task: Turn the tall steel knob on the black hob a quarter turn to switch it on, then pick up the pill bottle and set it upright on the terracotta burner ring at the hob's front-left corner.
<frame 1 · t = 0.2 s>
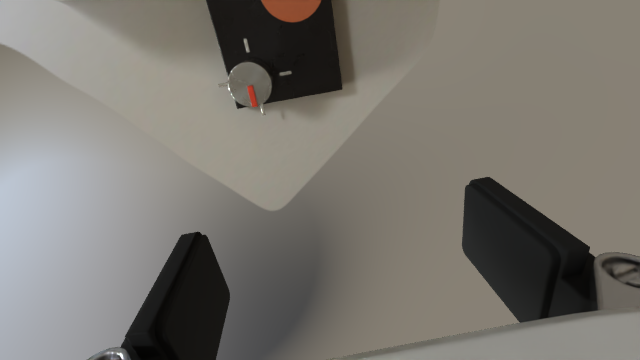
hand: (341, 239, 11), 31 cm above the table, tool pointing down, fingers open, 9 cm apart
hob: (275, 26, 35), on the table
hob knob: (252, 82, 33), point 5 cm above the table, hinge at 0.0°
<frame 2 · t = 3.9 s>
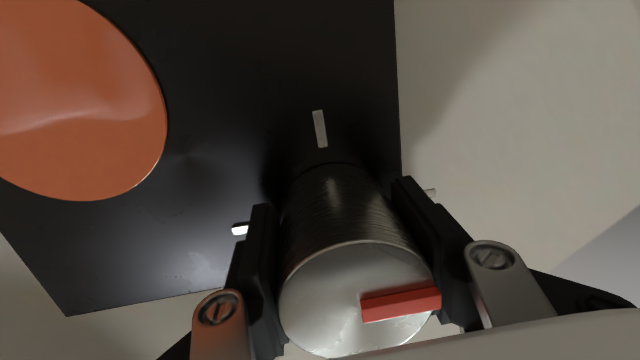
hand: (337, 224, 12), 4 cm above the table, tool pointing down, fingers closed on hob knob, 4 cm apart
hob: (204, 135, 13), on the table
hob knob: (344, 251, 10), point 5 cm above the table, hinge at 0.0°, touching gripper
burner ring: (55, 105, 10), resting on hob
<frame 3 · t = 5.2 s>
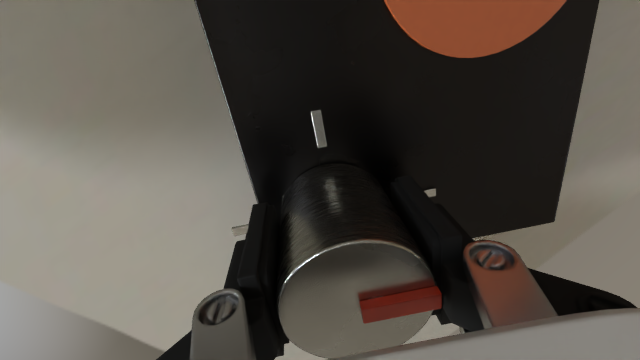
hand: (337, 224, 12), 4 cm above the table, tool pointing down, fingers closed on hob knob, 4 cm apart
hob: (389, 64, 13), on the table
hob knob: (344, 251, 10), point 5 cm above the table, hinge at 89.9°, touching gripper
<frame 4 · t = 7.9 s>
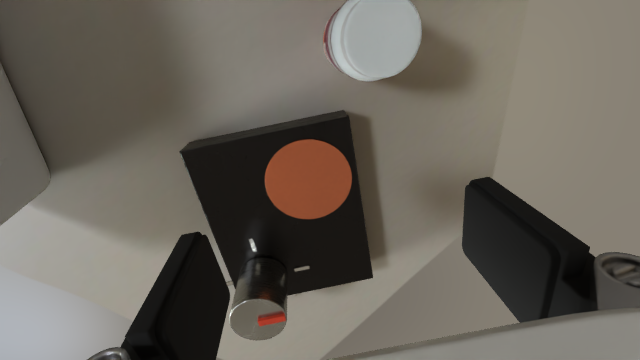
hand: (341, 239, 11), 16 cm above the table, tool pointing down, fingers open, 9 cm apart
hob: (288, 208, 28), on the table
hob knob: (261, 297, 25), point 5 cm above the table, hinge at 89.4°
burner ring: (308, 180, 24), resting on hob
pill bottle: (352, 40, 23), on the table
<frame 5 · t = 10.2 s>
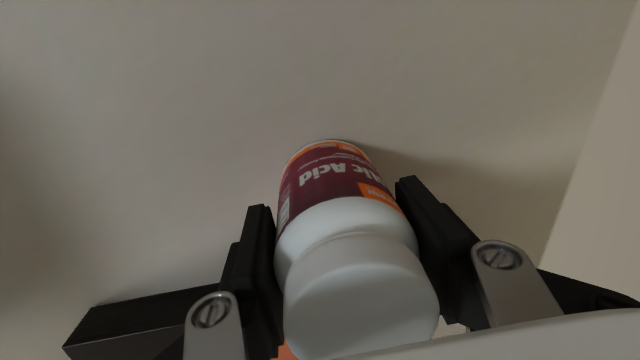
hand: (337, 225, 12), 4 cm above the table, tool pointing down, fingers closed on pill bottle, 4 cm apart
pill bottle: (326, 180, 15), on the table, touching gripper
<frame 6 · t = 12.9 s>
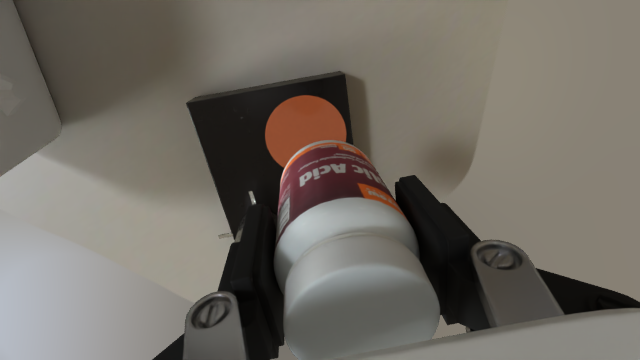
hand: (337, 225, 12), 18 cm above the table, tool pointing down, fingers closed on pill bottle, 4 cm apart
hob: (286, 166, 30), on the table
hob knob: (259, 245, 27), point 5 cm above the table, hinge at 89.4°
burner ring: (306, 136, 26), resting on hob
pill bottle: (326, 181, 15), point 14 cm above the table, touching gripper
when the fingers open (6 cm above the table, at t = 15.9 s): pill bottle stays where it is, resting on burner ring.
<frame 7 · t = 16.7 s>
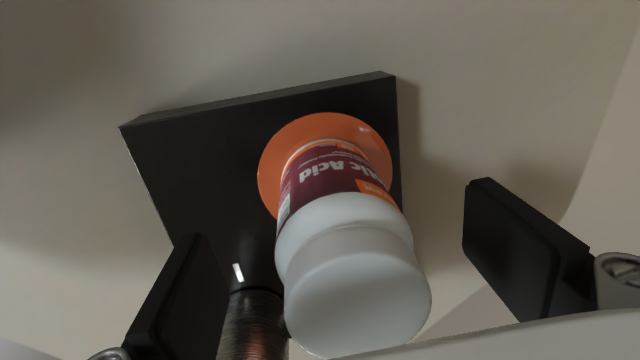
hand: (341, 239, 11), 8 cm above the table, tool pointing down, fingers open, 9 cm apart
hob: (292, 217, 19), on the table
hob knob: (249, 352, 17), point 5 cm above the table, hinge at 89.4°
burner ring: (325, 178, 16), resting on hob
pill bottle: (326, 178, 16), point 3 cm above the table, touching burner ring
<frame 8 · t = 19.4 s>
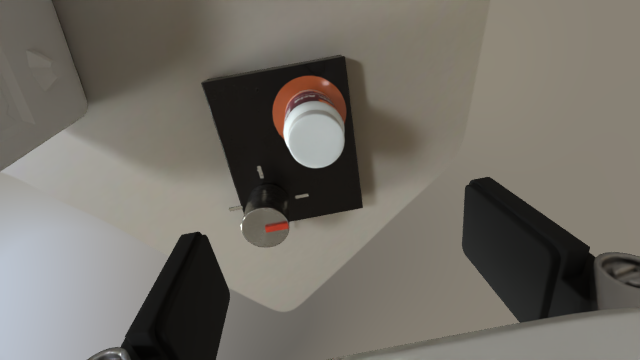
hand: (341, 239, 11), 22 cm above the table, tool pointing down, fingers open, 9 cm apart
hob: (291, 144, 32), on the table
hob knob: (267, 215, 30), point 5 cm above the table, hinge at 89.4°
burner ring: (309, 114, 29), resting on hob
pill bottle: (309, 114, 29), point 3 cm above the table, touching burner ring
radio: (27, 7, 25), on the table
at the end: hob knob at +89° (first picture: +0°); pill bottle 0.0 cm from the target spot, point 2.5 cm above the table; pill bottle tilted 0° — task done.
